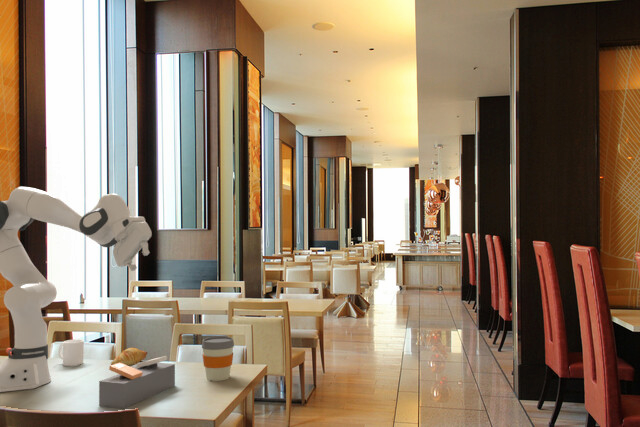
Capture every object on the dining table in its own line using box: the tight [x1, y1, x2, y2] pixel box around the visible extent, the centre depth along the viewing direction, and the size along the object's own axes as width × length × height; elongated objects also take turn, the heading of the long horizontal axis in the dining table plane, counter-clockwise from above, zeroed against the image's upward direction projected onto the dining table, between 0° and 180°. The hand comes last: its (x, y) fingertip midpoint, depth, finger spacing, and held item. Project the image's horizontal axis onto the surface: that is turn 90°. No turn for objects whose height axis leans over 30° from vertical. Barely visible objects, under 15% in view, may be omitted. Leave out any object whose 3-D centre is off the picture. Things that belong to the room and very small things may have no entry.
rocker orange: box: [108, 363, 143, 380], centre depth 181 cm, size 10×5×2 cm, turn 70°
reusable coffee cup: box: [201, 336, 235, 382], centre depth 210 cm, size 13×13×15 cm
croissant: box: [110, 347, 148, 366], centre depth 237 cm, size 21×10×8 cm, turn 157°
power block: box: [98, 362, 176, 409], centre depth 188 cm, size 10×28×9 cm, turn 160°
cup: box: [58, 338, 85, 367], centre depth 236 cm, size 8×12×10 cm
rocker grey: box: [136, 355, 168, 368], centre depth 194 cm, size 10×5×2 cm, turn 71°
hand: (140, 262), depth 189 cm, fingers open, 8 cm apart
